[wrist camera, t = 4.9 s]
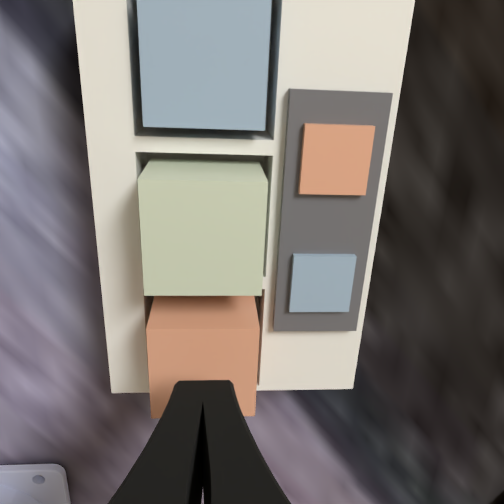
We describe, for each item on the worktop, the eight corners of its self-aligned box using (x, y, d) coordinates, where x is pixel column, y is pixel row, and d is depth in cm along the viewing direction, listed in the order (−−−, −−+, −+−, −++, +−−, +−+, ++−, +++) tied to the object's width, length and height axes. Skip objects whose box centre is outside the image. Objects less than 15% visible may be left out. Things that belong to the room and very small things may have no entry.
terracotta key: (160, 366, 15) (150, 418, 13) (156, 287, 14) (145, 329, 12) (249, 365, 15) (254, 415, 13) (252, 287, 14) (259, 328, 12)
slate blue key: (154, 115, 13) (143, 126, 11) (150, -1, 12) (135, -15, 10) (256, 119, 13) (264, 130, 11) (261, 5, 12) (272, -7, 10)
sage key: (155, 257, 14) (143, 295, 11) (151, 158, 12) (137, 179, 10) (253, 258, 14) (261, 295, 12) (258, 161, 13) (268, 182, 10)
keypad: (128, 340, 17) (108, 403, 14) (100, -19, 13) (61, -47, 9) (331, 338, 18) (356, 398, 15) (375, -3, 13) (427, -23, 10)
